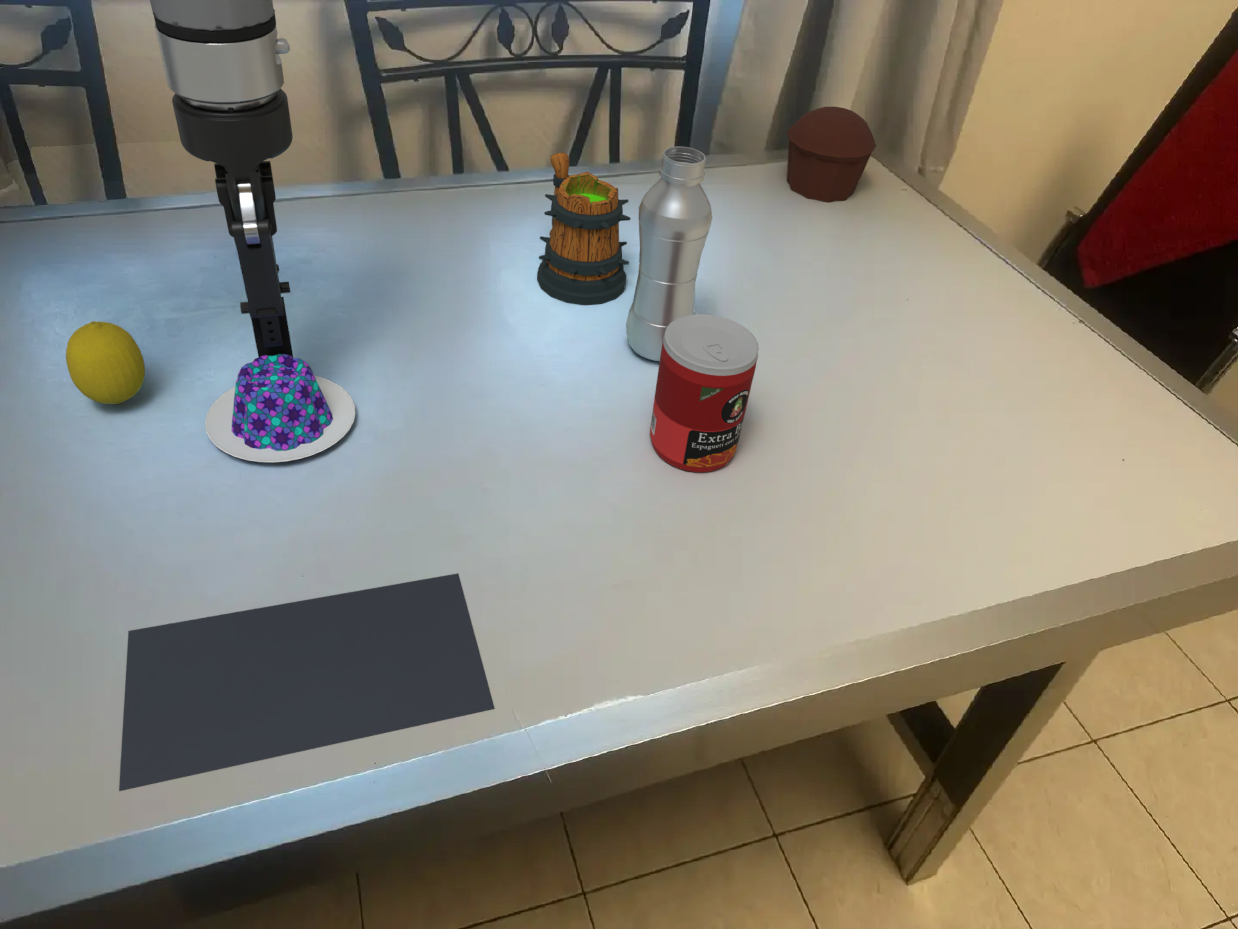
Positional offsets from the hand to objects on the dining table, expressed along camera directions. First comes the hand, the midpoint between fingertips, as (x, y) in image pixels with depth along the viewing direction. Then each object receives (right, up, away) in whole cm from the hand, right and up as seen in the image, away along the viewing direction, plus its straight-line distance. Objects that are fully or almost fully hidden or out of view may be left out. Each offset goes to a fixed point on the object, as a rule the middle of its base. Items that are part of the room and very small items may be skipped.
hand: (278, 368), depth 81 cm
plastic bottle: (+33, +3, +13) cm, 35 cm away
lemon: (-13, -3, -1) cm, 14 cm away
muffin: (+56, +28, +45) cm, 77 cm away
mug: (+24, +12, +22) cm, 35 cm away
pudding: (+1, -5, -1) cm, 5 cm away
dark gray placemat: (+9, -22, -19) cm, 30 cm away
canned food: (+35, -7, +2) cm, 36 cm away
